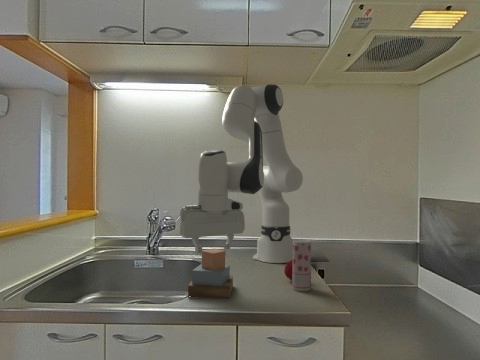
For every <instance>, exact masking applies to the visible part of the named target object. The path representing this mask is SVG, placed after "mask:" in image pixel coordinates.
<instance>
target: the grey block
mask: <svg viewBox="0 0 480 360" xmlns="http://www.w3.org/2000/svg"><path fill="white" fill-rule="evenodd" d="M230 272H231V267H230V264H225V268H221V269H217V270H210V269H206V268H203V267H202V263H200V264H199V265H197V266H195V268H194V269H192V271H191V279H192V280H191V281H192V284H200V285H213V286H222V285H223V284H224V283H225V282H226V281H227V280H228V279H229V278H230V276H231V274H230Z"/></svg>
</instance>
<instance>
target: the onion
mask: <svg viewBox="0 0 480 360" xmlns="http://www.w3.org/2000/svg"><path fill="white" fill-rule="evenodd" d="M283 272H284V275H285V276H286V278H287V279H288V280H290V281H291V282H292V273H293V258H292V260H290V261H289V262H286V263H285V266H284V270H283Z"/></svg>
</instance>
